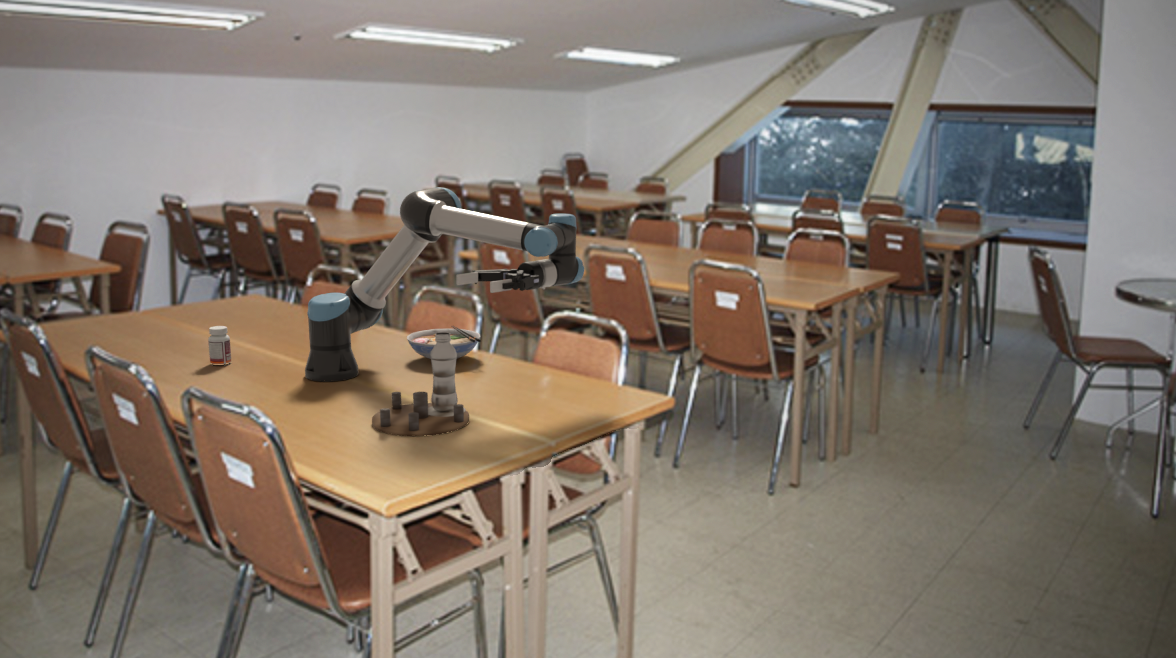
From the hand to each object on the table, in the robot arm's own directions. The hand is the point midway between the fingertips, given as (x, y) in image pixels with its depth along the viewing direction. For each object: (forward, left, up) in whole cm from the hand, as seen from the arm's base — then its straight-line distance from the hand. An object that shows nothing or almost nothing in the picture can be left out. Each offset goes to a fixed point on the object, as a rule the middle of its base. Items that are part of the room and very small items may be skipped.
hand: (473, 283), depth 261 cm
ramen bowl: (-15, +52, -33) cm, 64 cm away
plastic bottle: (-7, -7, -32) cm, 33 cm away
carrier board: (-12, -12, -33) cm, 37 cm away
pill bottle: (-82, +45, -33) cm, 100 cm away
